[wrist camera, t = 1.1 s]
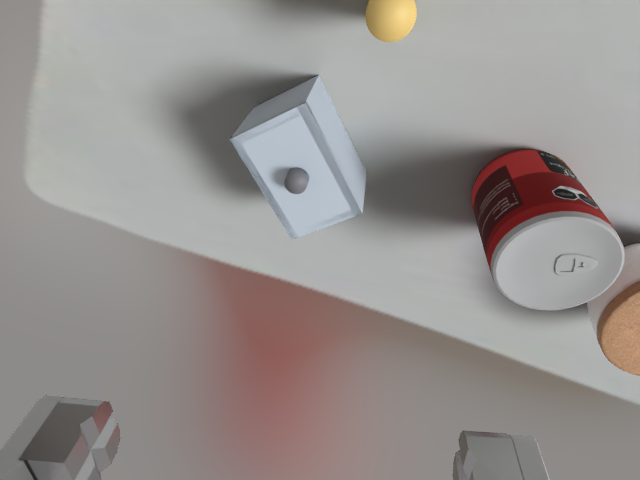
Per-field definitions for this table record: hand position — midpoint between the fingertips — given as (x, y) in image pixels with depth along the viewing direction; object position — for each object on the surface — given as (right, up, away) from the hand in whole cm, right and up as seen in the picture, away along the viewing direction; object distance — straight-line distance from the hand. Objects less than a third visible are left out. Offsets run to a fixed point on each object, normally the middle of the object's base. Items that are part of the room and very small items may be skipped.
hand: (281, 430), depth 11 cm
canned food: (+18, +9, +29) cm, 35 cm away
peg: (+6, +21, +22) cm, 31 cm away
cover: (0, +13, +28) cm, 31 cm away
